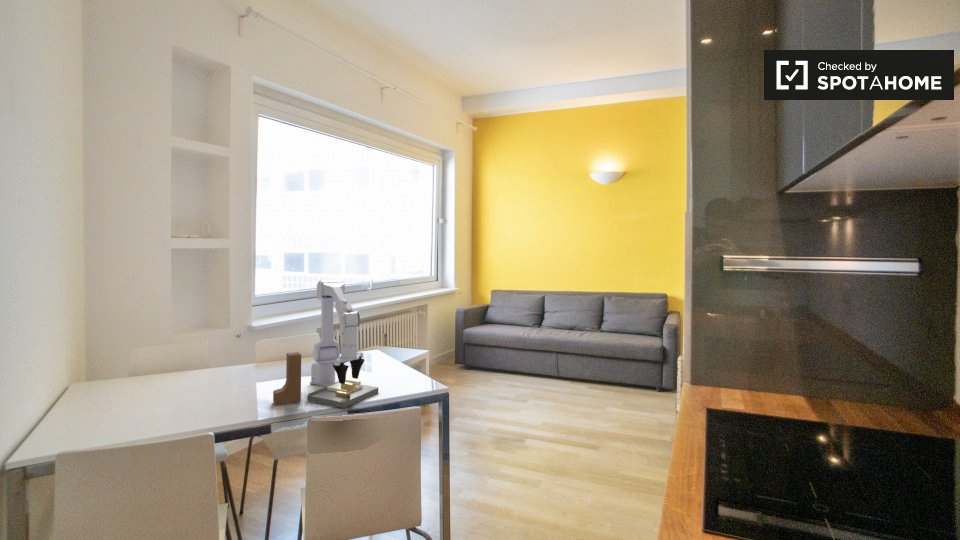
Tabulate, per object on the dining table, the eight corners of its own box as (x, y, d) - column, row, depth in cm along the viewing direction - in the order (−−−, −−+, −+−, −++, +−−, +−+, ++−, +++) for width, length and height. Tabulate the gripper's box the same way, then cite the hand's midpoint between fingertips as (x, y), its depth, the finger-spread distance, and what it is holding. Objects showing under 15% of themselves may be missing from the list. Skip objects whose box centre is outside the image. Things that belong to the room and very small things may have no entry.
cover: (327, 390, 194) (327, 383, 194) (342, 384, 202) (342, 378, 202) (348, 393, 190) (348, 387, 190) (362, 387, 198) (362, 381, 198)
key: (335, 395, 188) (335, 381, 188) (337, 394, 189) (337, 380, 189) (353, 398, 185) (354, 385, 184) (356, 397, 186) (356, 384, 186)
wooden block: (274, 406, 180) (275, 356, 179) (273, 402, 184) (273, 353, 183) (301, 402, 185) (301, 354, 184) (298, 399, 189) (299, 351, 188)
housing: (307, 400, 187) (307, 392, 187) (343, 386, 206) (343, 379, 206) (344, 408, 180) (344, 399, 180) (378, 392, 200) (378, 384, 200)
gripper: (345, 349, 177) (344, 387, 178) (370, 342, 190) (369, 377, 191) (329, 347, 180) (329, 384, 181) (354, 340, 193) (354, 374, 194)
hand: (348, 380), depth 186 cm, fingers open, 7 cm apart
